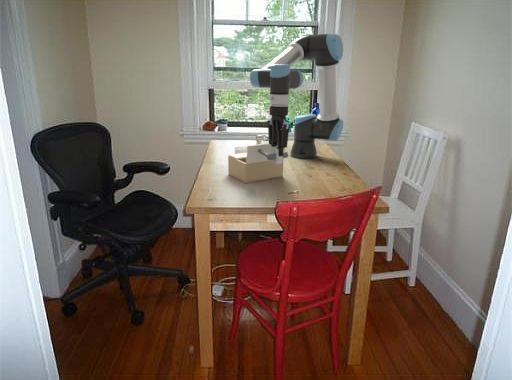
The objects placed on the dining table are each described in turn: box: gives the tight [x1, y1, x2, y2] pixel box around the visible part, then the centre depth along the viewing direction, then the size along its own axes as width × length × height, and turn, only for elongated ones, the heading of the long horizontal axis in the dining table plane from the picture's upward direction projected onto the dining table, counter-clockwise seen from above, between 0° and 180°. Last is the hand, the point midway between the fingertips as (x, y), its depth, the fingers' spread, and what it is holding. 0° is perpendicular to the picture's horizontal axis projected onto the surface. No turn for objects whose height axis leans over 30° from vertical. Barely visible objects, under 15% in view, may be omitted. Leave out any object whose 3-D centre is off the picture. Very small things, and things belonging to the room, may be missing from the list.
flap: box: [246, 142, 289, 164], centre depth 154 cm, size 19×8×10 cm
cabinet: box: [227, 153, 284, 185], centre depth 167 cm, size 20×16×10 cm
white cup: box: [234, 145, 247, 154], centre depth 181 cm, size 8×8×10 cm
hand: (277, 162), depth 151 cm, fingers closed on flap, 2 cm apart
